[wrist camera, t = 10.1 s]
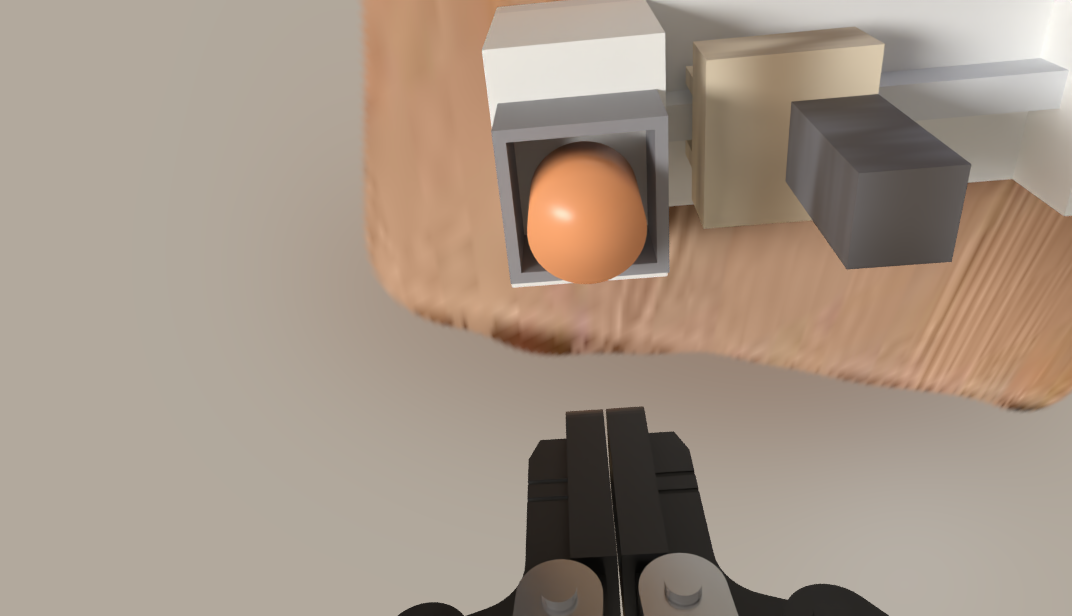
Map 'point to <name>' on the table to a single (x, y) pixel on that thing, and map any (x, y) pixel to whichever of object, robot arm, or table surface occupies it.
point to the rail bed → (751, 10)
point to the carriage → (819, 148)
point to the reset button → (585, 213)
